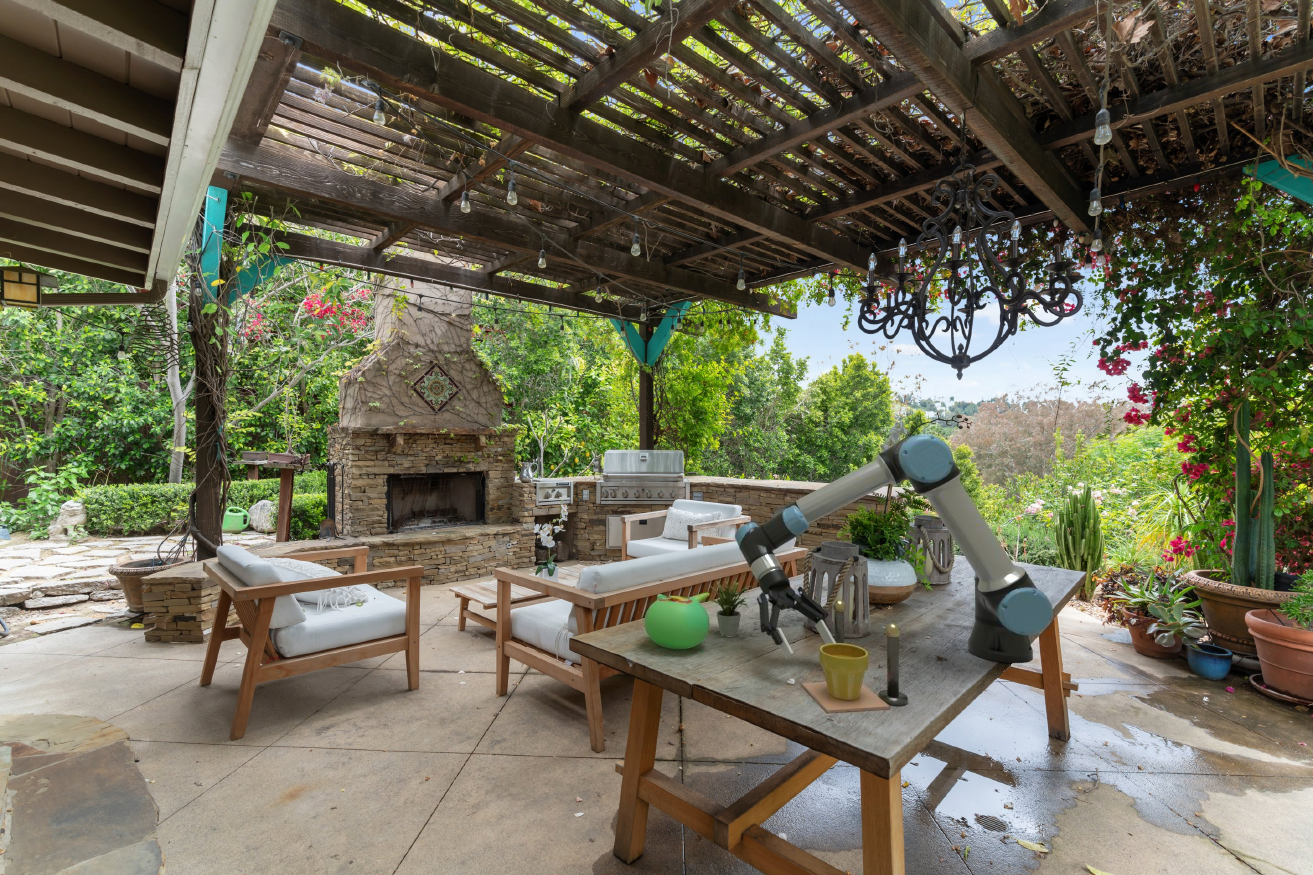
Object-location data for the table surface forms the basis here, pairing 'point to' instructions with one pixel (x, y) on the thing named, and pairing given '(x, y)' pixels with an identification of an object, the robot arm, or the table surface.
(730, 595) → the house plant
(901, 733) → the table surface
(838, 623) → the iron post
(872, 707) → the terracotta tile
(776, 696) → the table surface
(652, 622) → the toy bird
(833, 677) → the plant pot
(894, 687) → the iron post
